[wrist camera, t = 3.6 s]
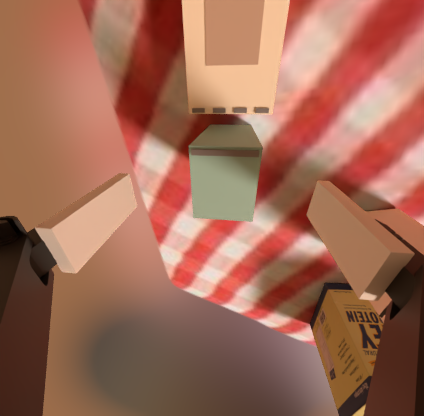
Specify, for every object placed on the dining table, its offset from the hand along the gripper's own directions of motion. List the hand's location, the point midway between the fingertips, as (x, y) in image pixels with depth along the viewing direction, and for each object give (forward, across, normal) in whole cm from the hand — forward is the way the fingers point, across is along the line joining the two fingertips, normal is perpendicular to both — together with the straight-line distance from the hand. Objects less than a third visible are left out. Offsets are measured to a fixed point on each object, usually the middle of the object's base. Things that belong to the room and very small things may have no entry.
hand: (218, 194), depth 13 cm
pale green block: (+13, 0, 0) cm, 13 cm away
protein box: (+13, +26, -31) cm, 42 cm away
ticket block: (+13, 0, +11) cm, 17 cm away
